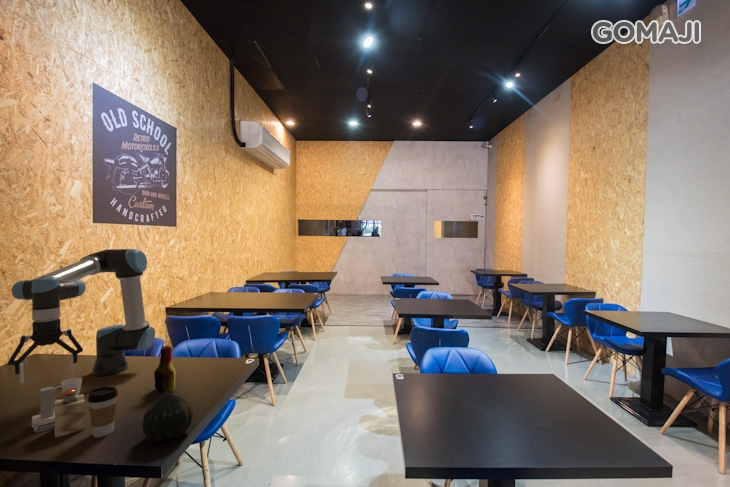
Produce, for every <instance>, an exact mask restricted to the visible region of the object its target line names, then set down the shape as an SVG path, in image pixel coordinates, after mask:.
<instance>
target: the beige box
mask: <svg viewBox="0 0 730 487" xmlns="http://www.w3.org/2000/svg"><path fill="white" fill-rule="evenodd" d="M84 396H85V395H84V394H83V393H82V394H79V395H78V396H75V402H72V403H68V404H64V398H62V399H58V400H54V408H55V428H54V439H56V438H59V437H63V436H66V435H69V434H70V435H71V434H73V433H77V432H80V431H83V430H84V431H85V430H86V405H85V404H86V403H85V402H86V401H85V397H84Z"/></svg>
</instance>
